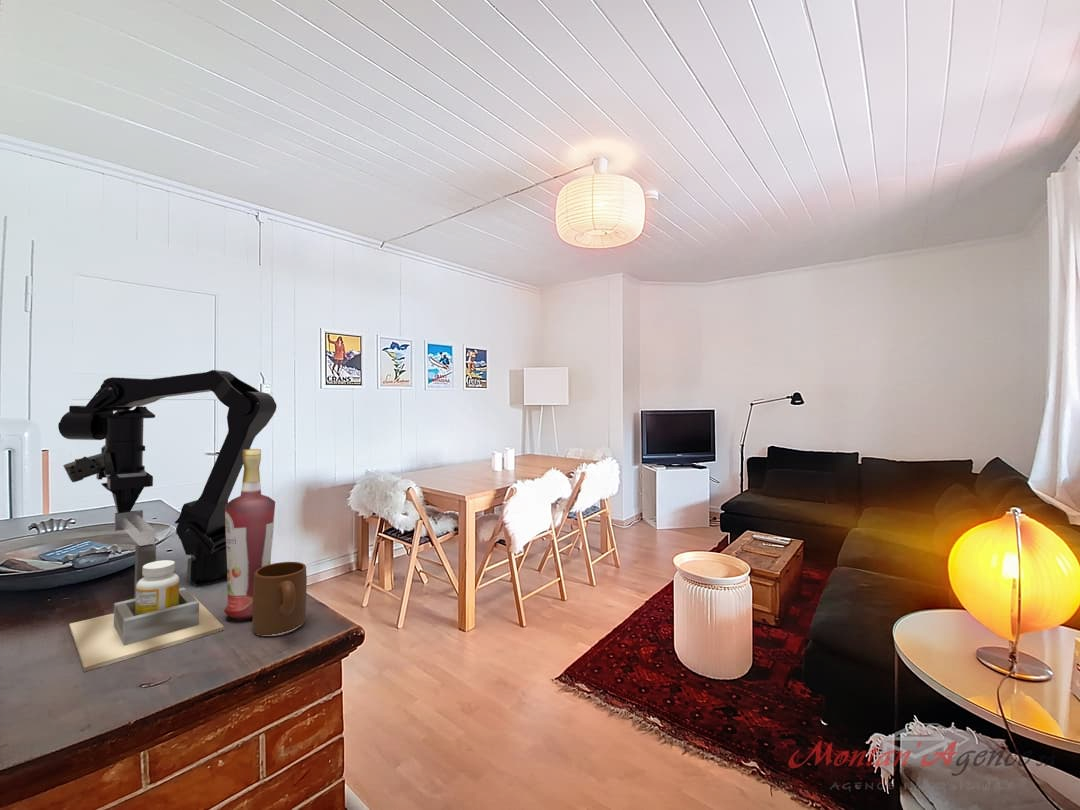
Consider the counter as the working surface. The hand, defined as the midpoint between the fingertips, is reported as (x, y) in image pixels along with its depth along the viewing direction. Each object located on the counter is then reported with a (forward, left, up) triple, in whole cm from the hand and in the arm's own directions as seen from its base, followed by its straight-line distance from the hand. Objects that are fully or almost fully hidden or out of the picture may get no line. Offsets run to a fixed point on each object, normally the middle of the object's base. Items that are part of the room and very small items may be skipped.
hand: (122, 518), depth 95 cm
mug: (-13, +46, -12) cm, 49 cm away
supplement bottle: (0, +31, -12) cm, 33 cm away
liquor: (-12, +35, -12) cm, 39 cm away
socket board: (+1, +30, -12) cm, 32 cm away
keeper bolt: (0, +14, -1) cm, 14 cm away
